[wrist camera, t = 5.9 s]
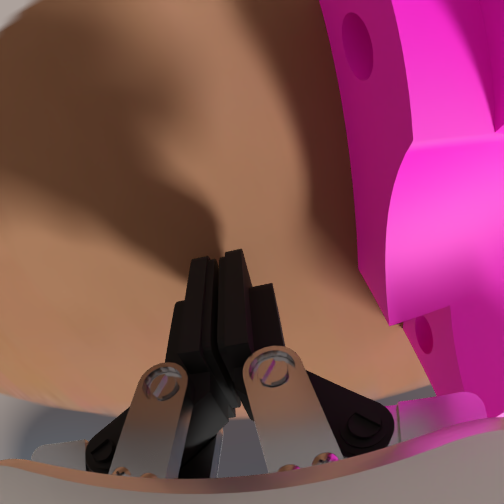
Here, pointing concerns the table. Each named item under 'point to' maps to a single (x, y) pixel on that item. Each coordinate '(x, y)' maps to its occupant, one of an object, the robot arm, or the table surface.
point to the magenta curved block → (429, 176)
